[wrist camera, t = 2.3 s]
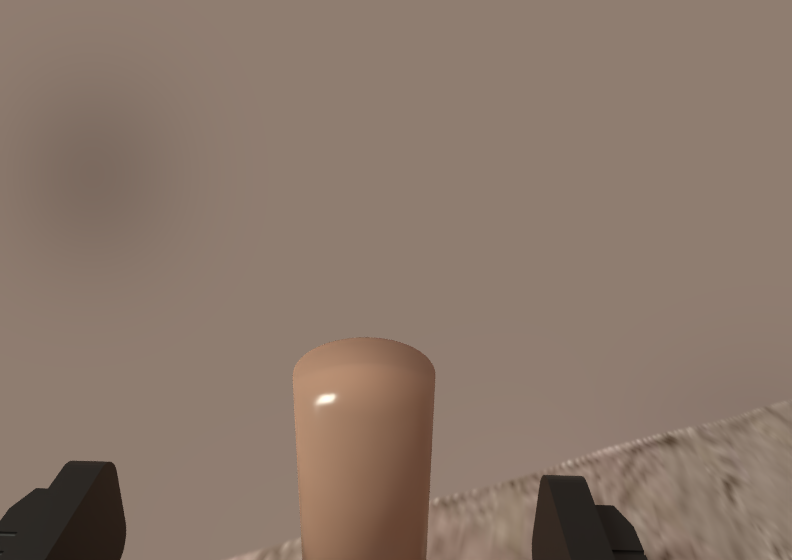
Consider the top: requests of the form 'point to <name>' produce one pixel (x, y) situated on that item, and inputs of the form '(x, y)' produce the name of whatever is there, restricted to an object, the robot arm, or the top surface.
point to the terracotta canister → (364, 449)
